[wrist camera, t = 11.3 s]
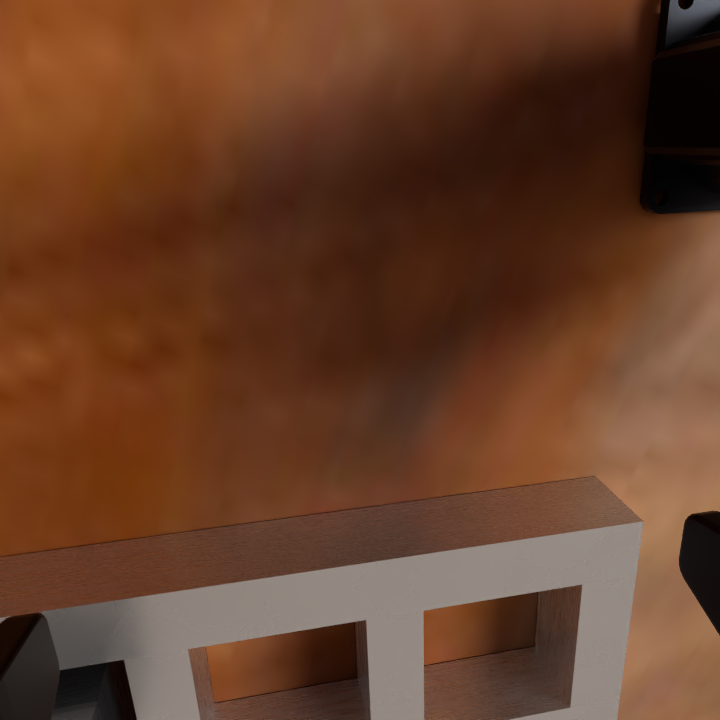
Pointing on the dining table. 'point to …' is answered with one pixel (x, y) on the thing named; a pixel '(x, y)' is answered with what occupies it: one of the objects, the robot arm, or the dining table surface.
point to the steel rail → (357, 605)
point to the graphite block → (94, 693)
